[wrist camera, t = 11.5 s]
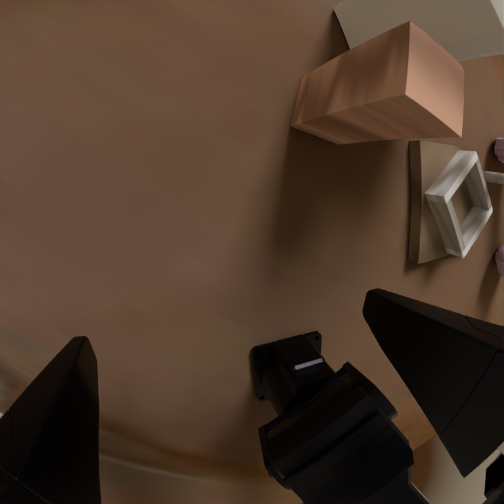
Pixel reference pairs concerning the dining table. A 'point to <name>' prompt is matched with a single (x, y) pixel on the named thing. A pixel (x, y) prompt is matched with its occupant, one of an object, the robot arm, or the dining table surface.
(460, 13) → the milk carton
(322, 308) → the dining table surface
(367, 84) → the peg
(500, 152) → the headphones
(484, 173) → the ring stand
